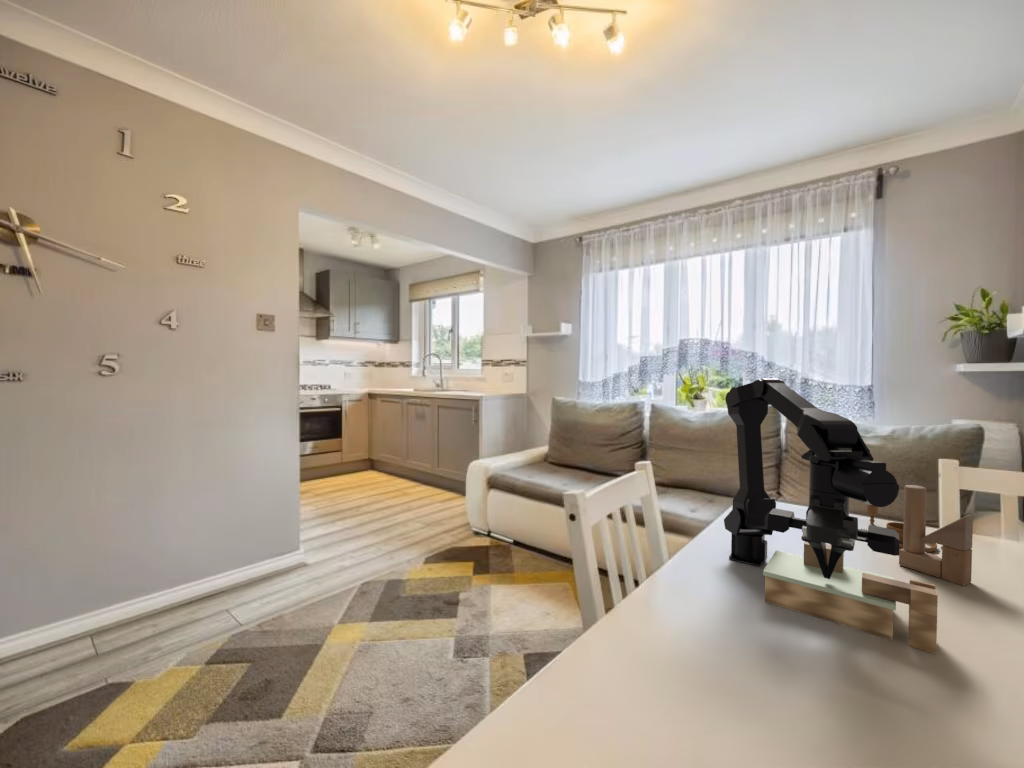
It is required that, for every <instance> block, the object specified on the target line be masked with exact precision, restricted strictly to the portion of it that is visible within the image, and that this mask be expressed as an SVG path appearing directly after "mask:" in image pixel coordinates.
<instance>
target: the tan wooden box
mask: <svg viewBox="0 0 1024 768" xmlns="http://www.w3.org/2000/svg"><path fill="white" fill-rule="evenodd" d="M764 579H765V580H764V583H765V584H764V585H765V586H764V602H766V603H768V604H772V605H775V606H778V607H782V608H785V609H788V610H791V611H795V612H799V613H802V614H804V615H807V616H812V617H815V618H818V619H822V620H824V621H829V622H832V623H834V624H837V625H841V626H844V627H848V628H851V629H854V630H859V631H861V632H864V633H868V634H872V635H874V636H878V637H880V638H881V637H882V638H883V639H888V640H891V641H892V640H893V639H894V638H893V637H894V610H891V609H888V608H884V607H880V606H876V605H873V604H869V603H865V602H861V601H858V600H854V599H850V598H846V597H843V596H839V595H835V594H832V593H828V592H824V591H820V590H817V589H813V588H809V587H805V586H802V585H798V584H794V583H790V582H787V581H783V580H779V579H775V578H772V577H768V576H764ZM909 584H914V585H918V586H922V587H927V588H931V589H935V590H936V584H935V583H933V584H932V583H929V582H925V581H919V580H916V579H911V578H910V579H909ZM938 597H939V595H938V594H935V593H931V592H926V591H922V590H918V589H914V588H911V599H910V605H908V627H907V628H908V629H907V631H908V633H907V634H908V644H909V647H911V648H914V649H918V650H922V651H925V652H927V653H930V654H935V655H937V639H938V637H937V636H938V635H937V633H938V632H937V630H938V602H939V601H938V599H939V598H938Z"/></svg>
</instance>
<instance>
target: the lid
mask: <svg viewBox="0 0 1024 768" xmlns="http://www.w3.org/2000/svg"><path fill="white" fill-rule="evenodd" d="M830 552H831V545H830V544H828V543H826V554H827V564H828V562H829V557H830ZM844 553H845V552H844ZM844 553H843V554H842V555H841V557H840V558H839V560H838V561H837V564H836V566H835V568H834V570H833V573H832V575H831V577H830V579H827V578H824V576H823V573H822V570H821V568H820V565H819V562H818V559H817V557H816V554H815V552H814V550H813V548H812V547H811V546H810V544H809V543H808V542H805V541H804V543H803V556H801V555H797V554H793V553H788V552H786V551H780V550H775V551H774V553H773V555H772V556H771V558H770V559H769V560H768V562H767V564H766V566H765V567H764V569H763V572H762V575H763V576H764V577H765V576H768V577H772V578H775V579H779V580H783V581H787V582H790V583H794V584H798V585H802V586H805V587H809V588H813V589H817V590H820V591H824V592H828V593H832V594H835V595H839V596H843V597H846V598H850V599H854V600H858V601H861V602H865V603H869V604H873V605H876V606H880V607H884V608H888V609H891V610H893V611H894V612H895V611H897V601H893V600H889V599H885V598H881V597H877V596H873V595H870V594H866V593H862V573H867V574H871V575H875V576H879V577H884V578H888V579H892V580H896V579H895V577H892V576H888V575H885V574H880V573H875V572H871V571H866V570H862V569H858V568H854V567H850V566H845V565H844V563H845V562H844V560H845V559H844V557H845V554H844Z"/></svg>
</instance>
